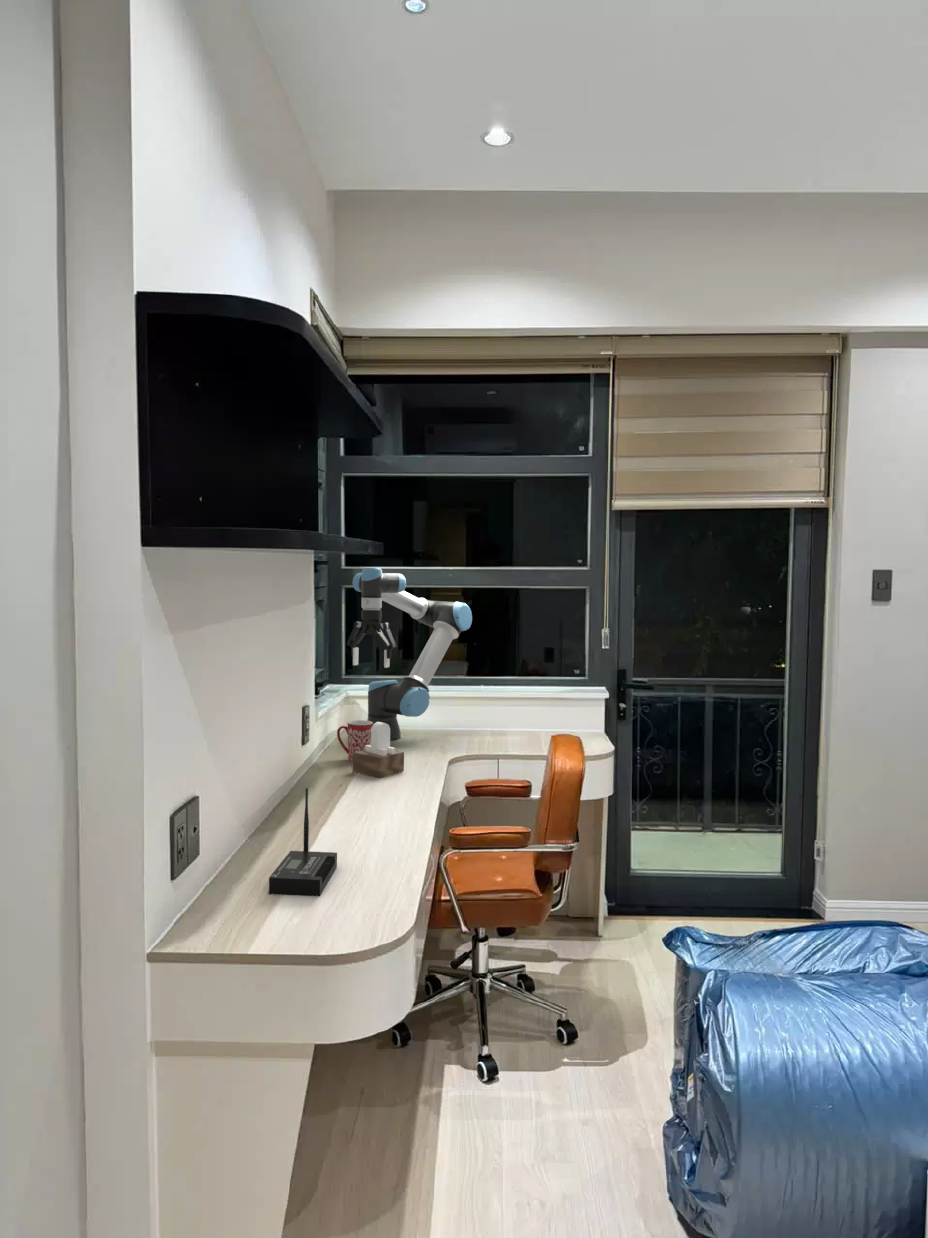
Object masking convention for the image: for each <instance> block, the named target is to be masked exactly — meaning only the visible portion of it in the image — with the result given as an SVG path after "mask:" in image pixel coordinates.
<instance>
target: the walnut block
mask: <svg viewBox="0 0 928 1238" xmlns="http://www.w3.org/2000/svg"><path fill="white" fill-rule="evenodd" d="M403 771H404V772H405V751H401V750H396V749H395V754H387V755H386V756H381V755H377V754H374V753H370V752H367V751H365V750H362V751H357V752H353V762H352V773H354V772H355V773H354V774H358V773H360V774H359V775H363V776H368V777H372V778H377V779H382V778H385V777H388V776H389V775H390V776H393V775H396V773H397V774H400V773H403ZM399 772H400V773H399ZM390 776H389V777H390Z"/></svg>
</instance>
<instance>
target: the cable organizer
mask: <svg viewBox="0 0 928 1238" xmlns="http://www.w3.org/2000/svg"><path fill="white" fill-rule="evenodd" d="M395 750H396V747H395V746H394V747H393V746H391V740H390V727H389V725H388V724H386V723H382V722H376V723H374V725H373V726H372V729H371V744H370V745H365V751H367V752H370V753H374V754H377V755H381V756H386V755H387V754H395Z"/></svg>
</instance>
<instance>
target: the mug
mask: <svg viewBox="0 0 928 1238" xmlns="http://www.w3.org/2000/svg"><path fill="white" fill-rule="evenodd" d="M346 724H347V725H341V726H339V727H338V728H337V732H336V735H337V740H338V742H339V744H340V746H341V748H342V749H343V750H344V751H345V753H346V754H347V755H348V758H347V759H348V761H349V762H351V763H353V752H357V751H362V750H365V745H371V729H372V724H373V722H371V721H367V720H364V719H363V720H362V719H361V720H359V719H358V720H357V719H355V720H349V721H347V722H346ZM342 729H344V730H345V731H346V734H347V745H348V747H347V746H346V745H345V743H344V742H343V740H342V738H341V730H342Z"/></svg>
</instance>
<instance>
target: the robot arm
mask: <svg viewBox="0 0 928 1238" xmlns="http://www.w3.org/2000/svg"><path fill="white" fill-rule="evenodd" d="M352 586H353V589H354V590H355V592H360V593H361V608H362V610H361V611H360V612H361V615H360V617H361V621H354V622H353V629H351V630H352V631H351V633H350V634H349V637H348V639H347V642H346V646H349V647H350V649H351V651H350V653H351V657H352V666H358V665H359V650H360V648H359V647H358V645H359V644H360V642H361V641H362V640H363V639H364V638H365V636H366V635H375V636H376V637H377V638H378V639H379V641H380V642H381V643H382V645H383V646H384V648H385V649H384V652H383V657H384V659H383V666H384V667H383V668H385V669H387V668H390V664H391V663H390V662H391V661H390V660H391V659H392V656H393V655H392V654H393V653H392V651H393V649H396V648H397V644H396V641H395V639H394V637H393V634H392V631H391V629H390V623H389V622H383V623H382V617H383V616H382V615H383V611H382V608H383V607H382V606H383V603H382V602H385V603H387V604H389V605H391V606H393V607H395V608H397V609H399V610H401V611H403V612H405V613H407V614H409V615H410V617H411V618H412V619H414V620H416V621H417V622H420V623H421V624H424V625H426V626H429V627H430V628H433V630H432V633H431V635H430V637H429V639H428V640H427V642H426V644H425V646H424V648H423V650H422V651H421V653H420V655H419V657H418V659H417V660H416V662H415V663H414V665H413V668H412V669H411V671H410V673H409V675H406V676H404V677H403V678H402V680H401V681H400V683H398V680H397V679H389V680H387V679H386V680H376V681H375V680H374V681H371V682H369V684H368V689H367V720H366V721H371V722H373V724H372V726H373V725H374V723H376V722H382V723H386V724H388V725H389V727H390V741H394V739H395V740H398V738H399V739H401V737H402V735H401V732H402V731H401V728H400V725H399V721H398V717H397V716H398V715H399V716H404V717H407V718H408V717H409V718H410V717H413V718H414V717H415V718H417V717H420V716H421V715H422V716H423V714H424V713H425V712H426V711H427V709H428V707H429V705H430V698H431V697H430V687H429V684H430V683H431V681H432V679H433V677H434V675H435V673H436V672H437V669H438V668H439V665H440V664H441V662H442V660H443V659H444V656H445V655H446V652H447V651H448V649H449V647H450V645H451V643H452V641H453V640H456V639H458V638H459V636H460V634H461V632H464V631H467V630H469V629H470V628H471V625H472V622H473V614H472V610H471V608H470V606H469V605H468V604H466V603H465V602H460V601H443V600H442V601H441V600H430V599H426V598H425V597H417V596H416V595H413V594H411V593H409V592H407V591H406V590H405V589H406V587H407V579H406V577H405V576H404V575H403V574H402V573H397V572H384V573H383V569H382V568H381V567H363V568H362V571H361V572H359V573H356V574H355V575H354V576H353V578H352ZM361 628H362V629H361ZM360 629H361V630H360ZM382 630H383V631H382ZM359 631H360V632H359ZM358 632H359V634H358Z"/></svg>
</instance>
